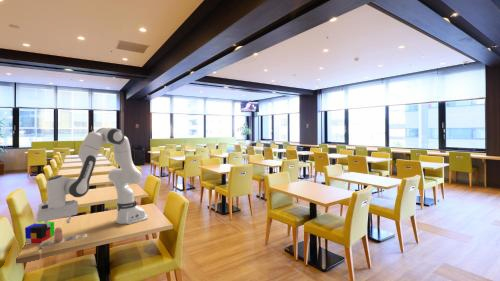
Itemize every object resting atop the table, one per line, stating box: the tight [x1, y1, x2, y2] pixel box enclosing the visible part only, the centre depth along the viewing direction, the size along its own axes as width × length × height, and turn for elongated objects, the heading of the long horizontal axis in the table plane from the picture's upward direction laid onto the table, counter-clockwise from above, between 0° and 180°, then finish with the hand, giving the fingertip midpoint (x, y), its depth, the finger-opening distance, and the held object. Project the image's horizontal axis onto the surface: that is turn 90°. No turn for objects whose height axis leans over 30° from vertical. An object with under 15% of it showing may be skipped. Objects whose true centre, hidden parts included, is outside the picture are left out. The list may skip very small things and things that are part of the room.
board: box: [37, 233, 88, 251], centre depth 162 cm, size 25×8×1 cm, turn 128°
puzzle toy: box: [24, 221, 55, 245], centre depth 164 cm, size 10×10×10 cm
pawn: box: [53, 226, 64, 243], centre depth 160 cm, size 4×4×8 cm
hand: (58, 224), depth 160 cm, fingers open, 8 cm apart
